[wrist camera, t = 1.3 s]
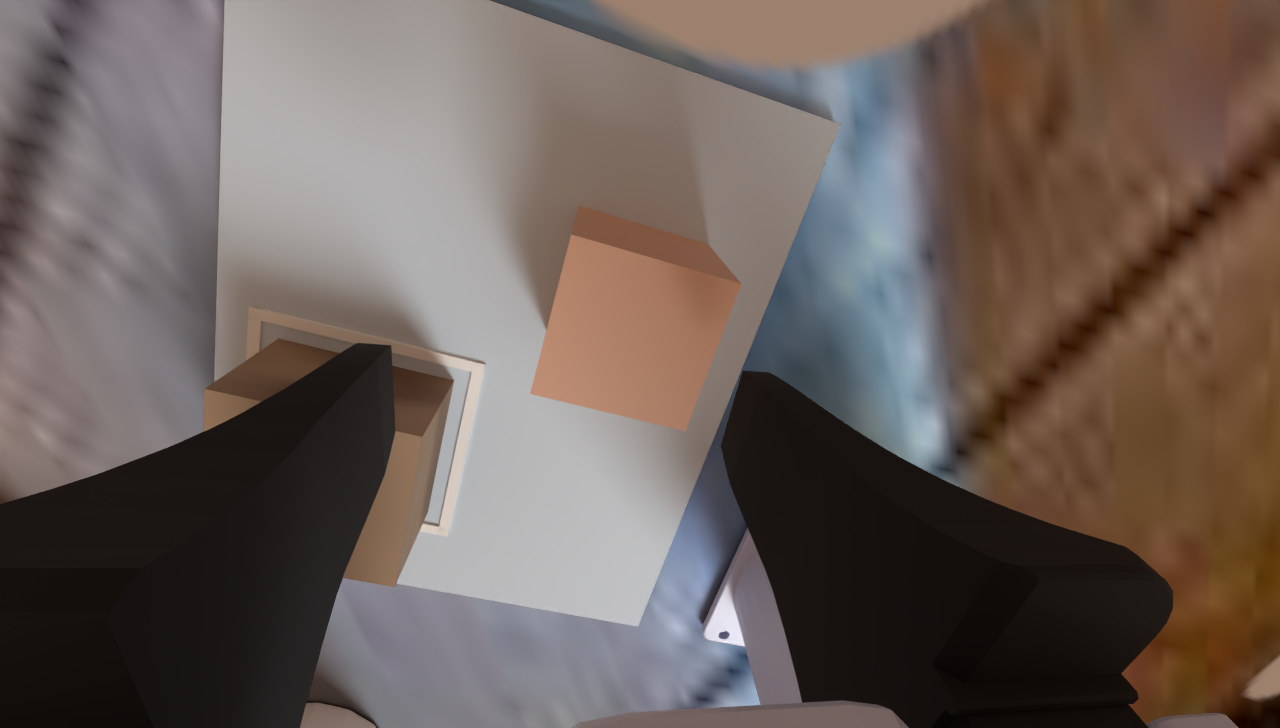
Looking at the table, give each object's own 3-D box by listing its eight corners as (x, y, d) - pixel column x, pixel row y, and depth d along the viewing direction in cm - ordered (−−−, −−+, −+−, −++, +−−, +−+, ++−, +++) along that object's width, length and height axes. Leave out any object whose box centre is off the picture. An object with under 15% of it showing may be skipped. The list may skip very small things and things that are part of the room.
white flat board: (834, 123, 19) (842, 124, 18) (637, 617, 27) (638, 628, 26) (238, -87, 16) (224, -95, 15) (217, 541, 24) (208, 552, 23)
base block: (454, 380, 21) (422, 436, 17) (427, 511, 23) (394, 587, 19) (278, 338, 20) (204, 388, 16) (268, 479, 22) (200, 552, 18)
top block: (708, 244, 19) (741, 283, 15) (667, 362, 21) (685, 431, 16) (578, 205, 19) (571, 234, 14) (546, 331, 20) (530, 393, 16)
